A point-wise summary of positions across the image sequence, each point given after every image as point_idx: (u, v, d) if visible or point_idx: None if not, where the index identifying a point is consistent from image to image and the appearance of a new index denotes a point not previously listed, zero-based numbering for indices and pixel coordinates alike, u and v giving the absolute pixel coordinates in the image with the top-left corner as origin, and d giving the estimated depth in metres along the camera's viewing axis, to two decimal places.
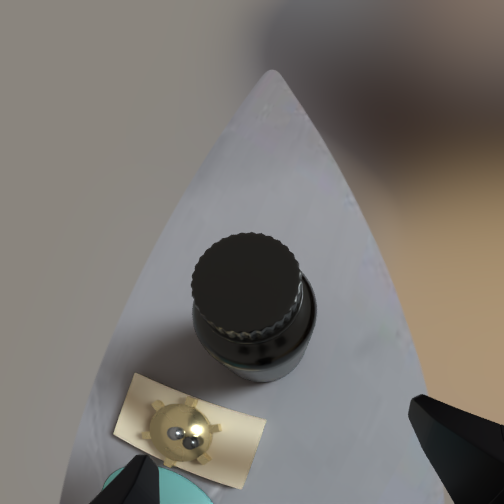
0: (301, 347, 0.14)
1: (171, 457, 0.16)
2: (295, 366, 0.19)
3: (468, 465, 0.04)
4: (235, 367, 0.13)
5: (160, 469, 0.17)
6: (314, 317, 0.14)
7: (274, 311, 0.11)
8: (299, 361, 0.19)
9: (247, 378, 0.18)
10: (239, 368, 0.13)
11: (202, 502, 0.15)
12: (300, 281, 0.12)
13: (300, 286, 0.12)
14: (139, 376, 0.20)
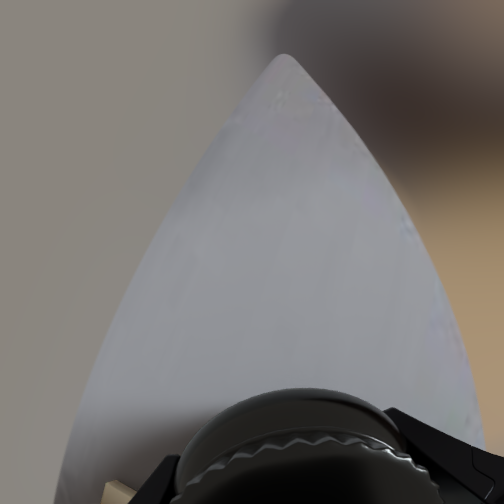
0: None
1: None
2: None
3: None
4: None
5: None
6: None
7: None
8: None
9: None
10: None
11: None
12: None
13: None
14: (112, 488, 0.10)
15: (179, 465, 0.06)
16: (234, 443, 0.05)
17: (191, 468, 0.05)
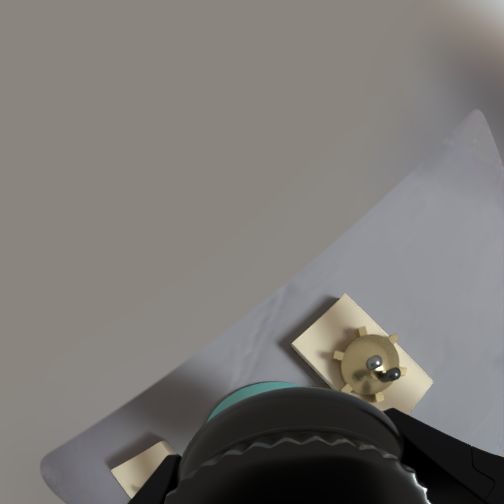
0: None
1: (353, 385, 0.18)
2: None
3: (434, 486, 0.04)
4: None
5: None
6: None
7: None
8: None
9: None
10: None
11: None
12: None
13: None
14: (348, 299, 0.22)
15: (181, 462, 0.06)
16: (232, 441, 0.06)
17: (192, 465, 0.05)
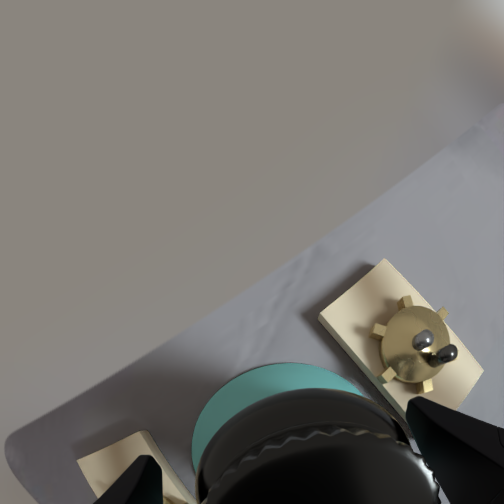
0: None
1: (397, 370, 0.13)
2: None
3: (465, 467, 0.04)
4: None
5: (348, 384, 0.15)
6: None
7: None
8: None
9: None
10: None
11: None
12: None
13: None
14: (388, 264, 0.17)
15: (202, 460, 0.06)
16: (255, 438, 0.06)
17: (215, 462, 0.06)
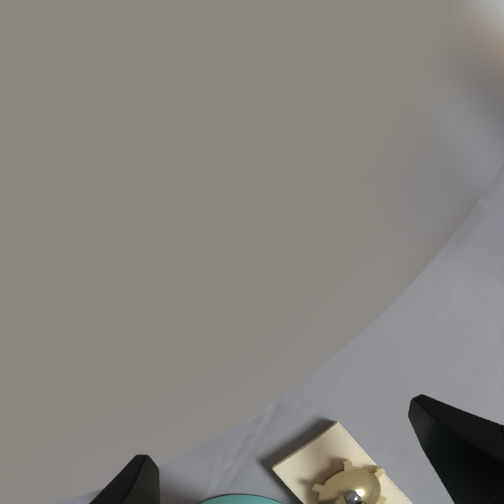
0: None
1: None
2: None
3: (468, 465, 0.04)
4: None
5: None
6: None
7: None
8: None
9: None
10: None
11: None
12: None
13: None
14: (341, 427, 0.17)
15: None
16: None
17: None
